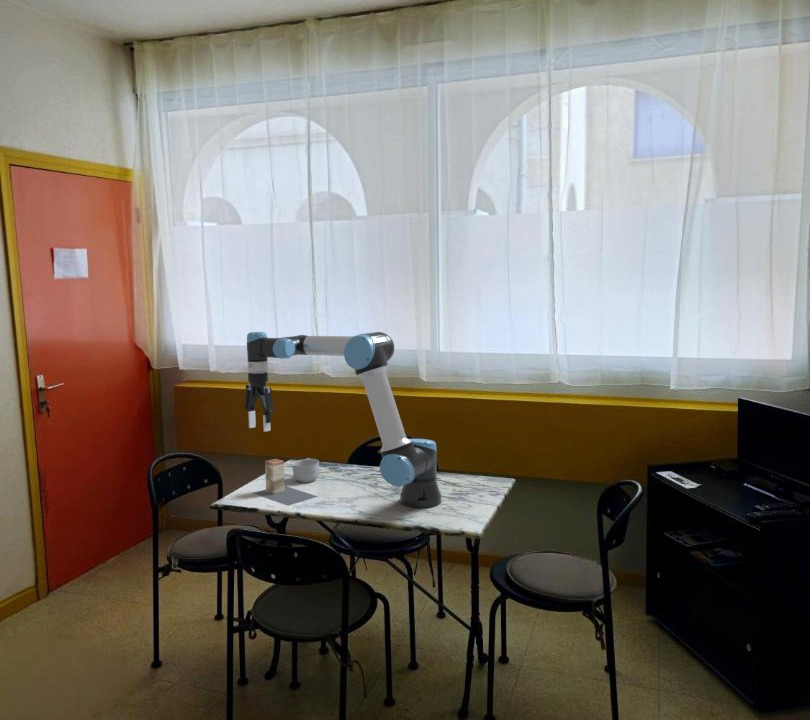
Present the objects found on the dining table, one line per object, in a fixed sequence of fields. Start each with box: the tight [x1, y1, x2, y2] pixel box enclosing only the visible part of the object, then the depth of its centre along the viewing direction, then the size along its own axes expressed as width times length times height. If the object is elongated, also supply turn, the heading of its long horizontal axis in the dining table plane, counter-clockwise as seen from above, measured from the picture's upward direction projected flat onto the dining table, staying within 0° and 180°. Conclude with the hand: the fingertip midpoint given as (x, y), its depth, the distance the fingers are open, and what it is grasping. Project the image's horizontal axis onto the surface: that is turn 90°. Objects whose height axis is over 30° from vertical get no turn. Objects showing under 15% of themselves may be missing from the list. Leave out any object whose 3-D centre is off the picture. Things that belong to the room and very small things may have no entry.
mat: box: [252, 485, 319, 506], centre depth 258 cm, size 22×14×1 cm, turn 47°
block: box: [264, 458, 285, 494], centre depth 261 cm, size 5×5×12 cm
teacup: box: [291, 457, 320, 484], centre depth 278 cm, size 14×11×8 cm
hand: (259, 429), depth 265 cm, fingers open, 9 cm apart
